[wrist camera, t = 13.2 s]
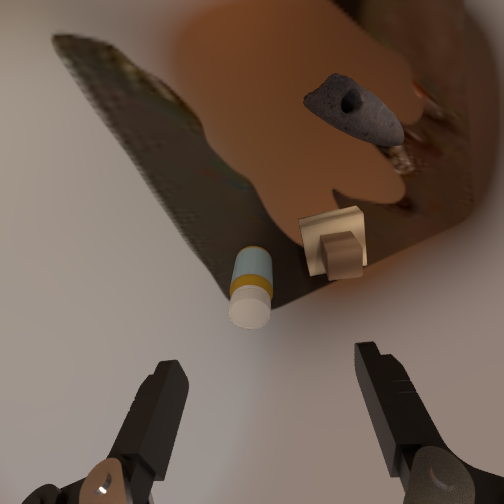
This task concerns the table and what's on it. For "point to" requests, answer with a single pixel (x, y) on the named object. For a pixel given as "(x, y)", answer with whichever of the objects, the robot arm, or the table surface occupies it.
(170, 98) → the table surface
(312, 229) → the plinth
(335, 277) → the walnut block
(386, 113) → the perforated stone tool
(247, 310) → the bottle
